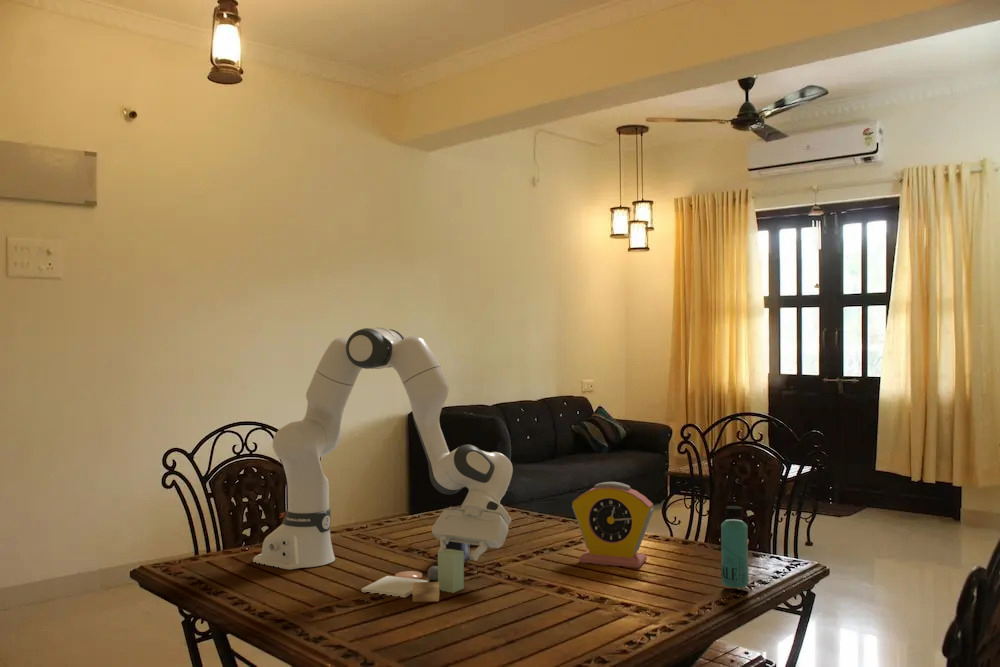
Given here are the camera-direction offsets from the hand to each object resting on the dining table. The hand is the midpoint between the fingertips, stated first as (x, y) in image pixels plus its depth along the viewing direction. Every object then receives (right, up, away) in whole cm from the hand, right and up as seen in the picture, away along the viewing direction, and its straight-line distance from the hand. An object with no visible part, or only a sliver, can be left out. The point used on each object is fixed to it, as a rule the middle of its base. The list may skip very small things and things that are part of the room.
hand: (457, 556), depth 201 cm
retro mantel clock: (+41, -8, +22) cm, 48 cm away
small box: (-2, -8, +23) cm, 24 cm away
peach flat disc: (-13, -8, +9) cm, 18 cm away
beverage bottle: (+67, -7, -5) cm, 67 cm away
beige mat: (-15, -7, -1) cm, 17 cm away
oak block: (-7, -7, -10) cm, 14 cm away
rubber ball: (-6, -6, +5) cm, 10 cm away
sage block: (-1, -7, -2) cm, 8 cm away
